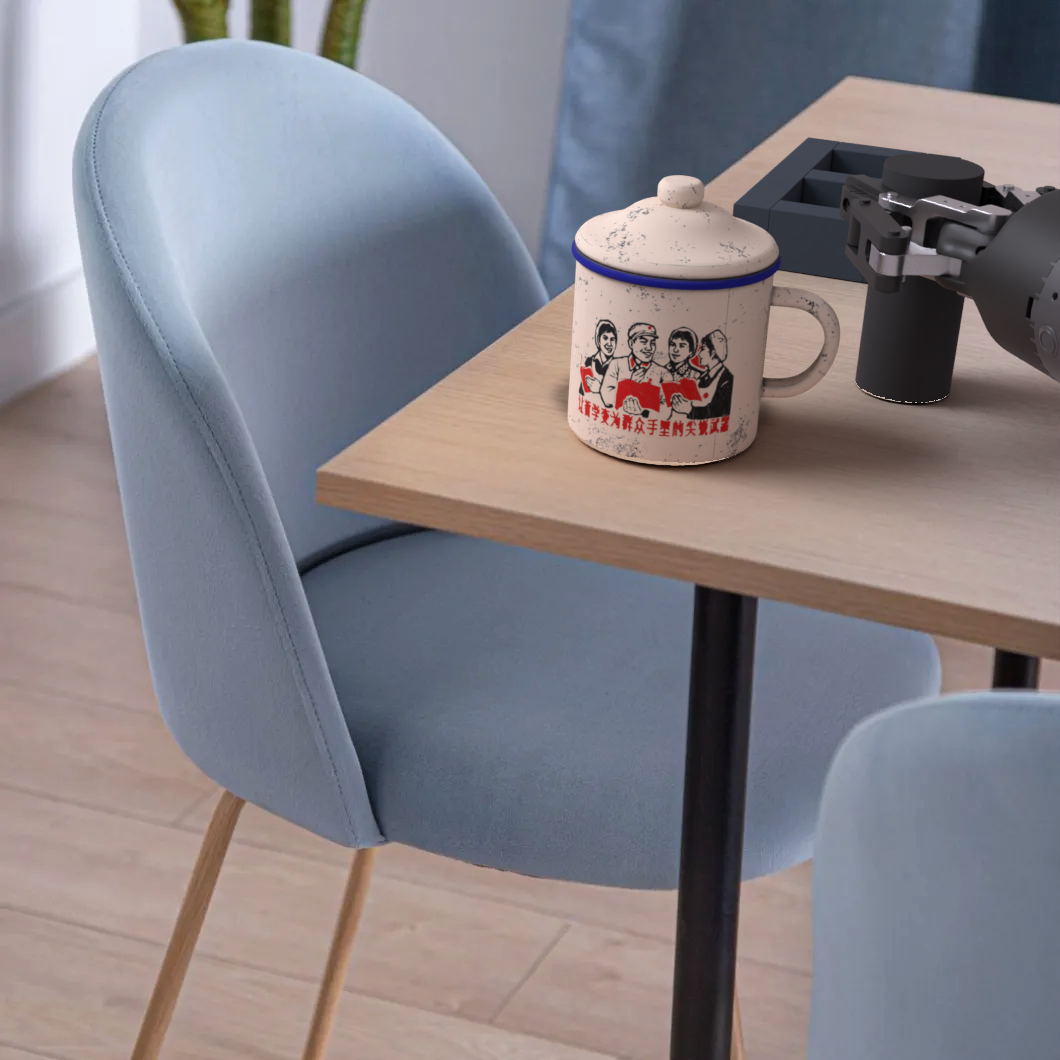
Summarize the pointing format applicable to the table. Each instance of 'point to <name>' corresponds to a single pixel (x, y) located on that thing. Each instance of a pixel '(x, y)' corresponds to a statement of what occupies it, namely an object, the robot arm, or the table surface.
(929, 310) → the black cylinder
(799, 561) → the table surface
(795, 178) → the divided rectangular tray
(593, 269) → the teacup with lid
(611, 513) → the table surface
